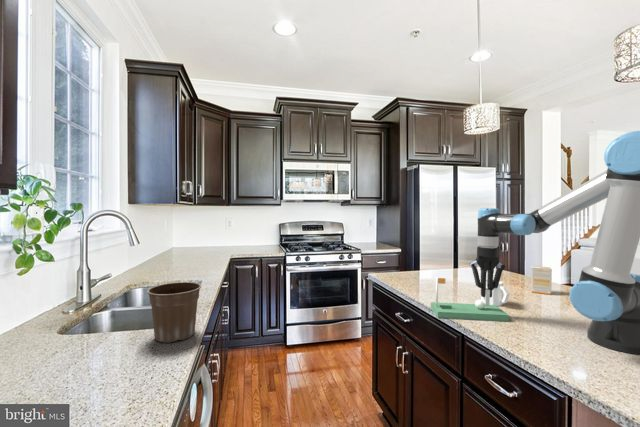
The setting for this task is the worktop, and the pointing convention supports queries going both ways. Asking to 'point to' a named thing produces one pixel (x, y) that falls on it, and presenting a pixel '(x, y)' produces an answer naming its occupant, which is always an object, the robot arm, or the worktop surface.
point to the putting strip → (466, 309)
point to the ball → (479, 304)
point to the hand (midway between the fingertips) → (486, 304)
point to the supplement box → (541, 279)
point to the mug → (498, 295)
